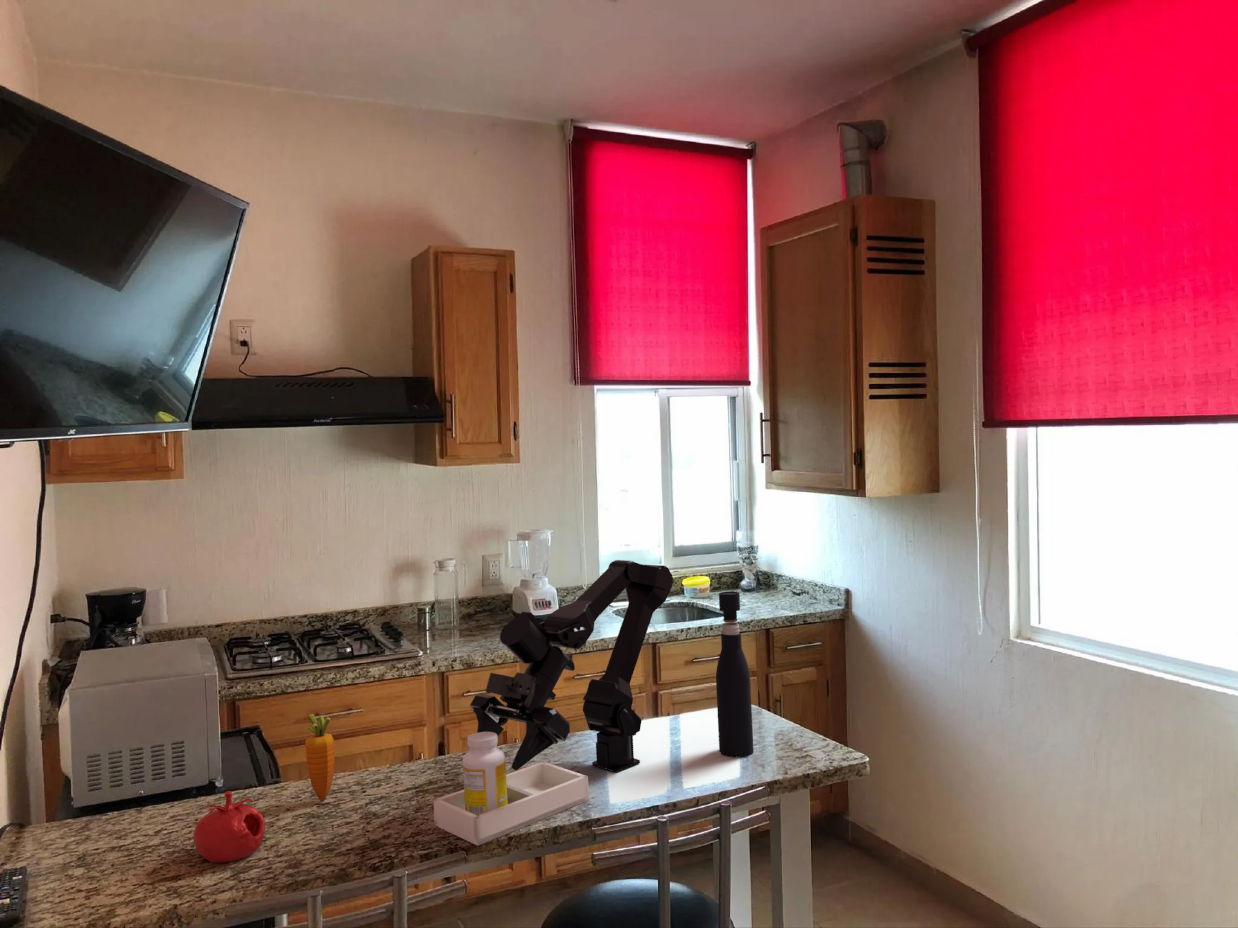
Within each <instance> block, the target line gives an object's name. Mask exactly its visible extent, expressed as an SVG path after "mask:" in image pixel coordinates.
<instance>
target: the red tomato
mask: <svg viewBox="0 0 1238 928" xmlns="http://www.w3.org/2000/svg"><path fill="white" fill-rule="evenodd" d="M232 795H233V793H232V791H231V790H227V791H225V792H224V797H225V803H224V806H223V805H221V804H220V805H218V804H217V805H215V804H213V805H212V804H207V805H204V806H201V808H202V809H205V808H208V807H212V808H211V809H210V810H209V812H208V813H206V814H205V815H204V816H203V817H201V818H200V819H199V820H198V822H197V823H196V826H195V827H194V831H193V837H192V838H193V839H192V840H193V843H194V846H195V849H196V851H197V852H198V853H197V854H199V855H200V856H201V857H202V858H204V859H205V860H207V861H209V862H211V863H215V864H216V863H217V864H221V863H228V862H233V861H234V862H235V861H238V860H241V859H244V858H248V857H249V856H251V855H253V854H254V853H256V851H257V850H258V849H259V848H260V846H261V844H262V841H263V840H264V836H265V831H266V821H265V818H264V815H263V814H262V813H261V812H259V811H258V809H257V808H256V807H255V806H252V805H249V804H246V803H245V802H247V801H249V802H254V801H255V799H252V798H248V797H247V798H245V799H244V800H241V801H237V802H232Z"/></svg>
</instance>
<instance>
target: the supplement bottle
mask: <svg viewBox="0 0 1238 928" xmlns="http://www.w3.org/2000/svg"><path fill="white" fill-rule="evenodd" d="M498 738H499V736H498V737H497V734H496V733H494V732H478V733H477V732H476V733H472V734H469V735H468V736H467V738H466V739H467V746H468V748H469V750H468V751H467V752H466V753H465V754H464V756H463V758H462V774H463V775H462V776H463V790H464V795H465V811H468V812H470V813H472V814H475V815H477V816H479V815H481V814H484V813H487V812H489V811H492V810H495V809H497V808H500V807H502V806H505V805H508V800H507V784H506V774H507V772H506V770H507V769H506V755H505V753H504V752H503V750H502V749H500V748H498V746H497V745H498V742H499V740H498Z"/></svg>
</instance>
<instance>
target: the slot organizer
mask: <svg viewBox="0 0 1238 928" xmlns="http://www.w3.org/2000/svg"><path fill="white" fill-rule="evenodd" d="M506 784H507V800H508V805H505V806H502V807H500V808H497V809H495V810H492V811H489V812H487V813H484V814H481V815H479V816H477V815H475V814H472V813H470V812H468V811H465V795H464V789H462V790H459V791H456V792H452V793H450V794H447V795H444V796H441V797H438V798H435V799H433V818H434V819H433V820H434V821H433V822H434V826H435V827H437V826H438V827H437V828H439V827H440V828H439V829H441V830H443V829H444V831H446V832H447V833H450V834H452V835H454V836H457V837H458V838H461V839H463V840H465V841H467V842H469V843H471V844H473V845H476V846H477V847H478V846H480V845H483V844H486V843H488V842H491V841H493V840H495V839H498V838H500V837H503V836H505V835H507V834H510V833H512V832H514V831H515V832H516V831H518V830H520V829H523V828H525V827H527V826H530V825H533V824H534V823H537V822H539V821H542V820H544V819H547V818H549V817H551V816H554V815H557V814H559V813H562V812H564V811H566V809H567V810H569V809H571V807H572V808H574V807H576V806H579V805H581V804H584V803H585V802H588V801H590V793H589V791H590V789H589V776H588V775H585V774H582V773H580V772H579V773H578V772H577V771H573V770H570V769H567V768H564V767H561V766H558V765H554V764H552V763H549V762H545V761H541V762H538V763H536V764H533V765H529V766H526V767H525V768H520V769H518V770H517V771H515V770H514V771H512V772H509V773H506Z"/></svg>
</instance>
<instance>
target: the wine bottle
mask: <svg viewBox="0 0 1238 928" xmlns="http://www.w3.org/2000/svg"><path fill="white" fill-rule="evenodd" d="M740 600H741V599H740V592H738V591H721V592H719V593H718V603H719V605H718V606H719V611H720V612H722V615H723V619H722V620H723V622H724V623H722V626H721V628H722V630H721V632H722V633H721V634H720V640H721V650H720V653H719V657H718V660H717V665H716V671H715V673H716V674H715V684H716V686H715V687H716V705H717V706H716V707H717V710H716V711H717V727H718V729H717V730H718V749H719V750H718V751H719V753H720V754H721V755H722V756H725V757H728V758H729V757H730V758H743V757H744V758H745V757H749V756H751V755H752V754H753V753H754V734H753V733H754V732H753V731H754V730H753V714H752V713H753V712H752V711H753V710H752V709H753V707H752V691H751V690H752V689H751V674H750V669H749V664H748V661H747V659H746V656H745V653H744V650H743V648H742V633H740V631H741V630H740V625H739V623H738V622H737V621H738V614H737V613H738V612H739V611H741V601H740Z"/></svg>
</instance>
